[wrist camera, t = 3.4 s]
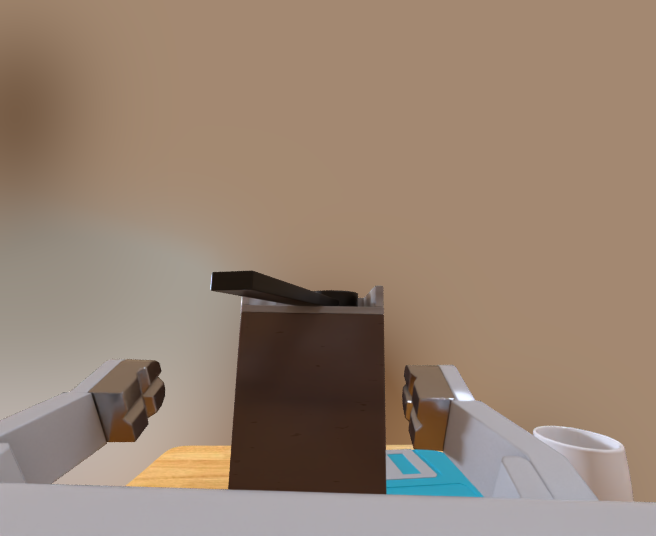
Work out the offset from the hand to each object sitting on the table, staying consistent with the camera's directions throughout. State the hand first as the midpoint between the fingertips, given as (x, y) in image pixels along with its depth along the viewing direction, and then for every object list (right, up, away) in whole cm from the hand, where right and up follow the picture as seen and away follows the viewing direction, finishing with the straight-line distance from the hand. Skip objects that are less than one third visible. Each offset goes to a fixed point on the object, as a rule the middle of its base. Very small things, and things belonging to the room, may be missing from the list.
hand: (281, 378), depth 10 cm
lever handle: (0, +1, +10) cm, 10 cm away
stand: (0, -25, +11) cm, 28 cm away
